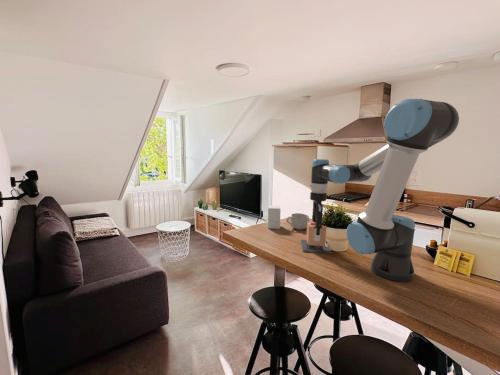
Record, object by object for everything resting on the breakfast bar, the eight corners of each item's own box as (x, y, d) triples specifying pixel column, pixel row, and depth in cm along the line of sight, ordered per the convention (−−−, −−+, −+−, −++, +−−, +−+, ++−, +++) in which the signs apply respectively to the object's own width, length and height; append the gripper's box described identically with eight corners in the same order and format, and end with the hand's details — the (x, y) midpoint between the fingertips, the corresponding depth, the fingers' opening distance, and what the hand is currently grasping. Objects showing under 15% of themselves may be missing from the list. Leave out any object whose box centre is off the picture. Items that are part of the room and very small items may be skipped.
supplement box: (279, 225, 159) (280, 205, 157) (279, 229, 152) (280, 208, 150) (267, 224, 160) (268, 205, 158) (267, 228, 153) (268, 208, 151)
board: (331, 253, 119) (332, 238, 118) (302, 251, 120) (303, 236, 119) (326, 243, 131) (327, 230, 129) (300, 242, 132) (301, 228, 131)
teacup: (305, 225, 160) (306, 213, 159) (310, 231, 150) (311, 218, 148) (283, 225, 160) (284, 213, 158) (287, 231, 149) (287, 217, 148)
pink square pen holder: (322, 239, 128) (323, 222, 127) (325, 245, 121) (326, 227, 119) (306, 238, 129) (307, 221, 128) (307, 244, 121) (309, 226, 120)
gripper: (308, 188, 132) (305, 230, 135) (313, 195, 111) (310, 245, 115) (323, 188, 131) (320, 231, 134) (331, 196, 110) (327, 246, 114)
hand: (315, 237), depth 125 cm, fingers closed on pink square pen holder, 8 cm apart
